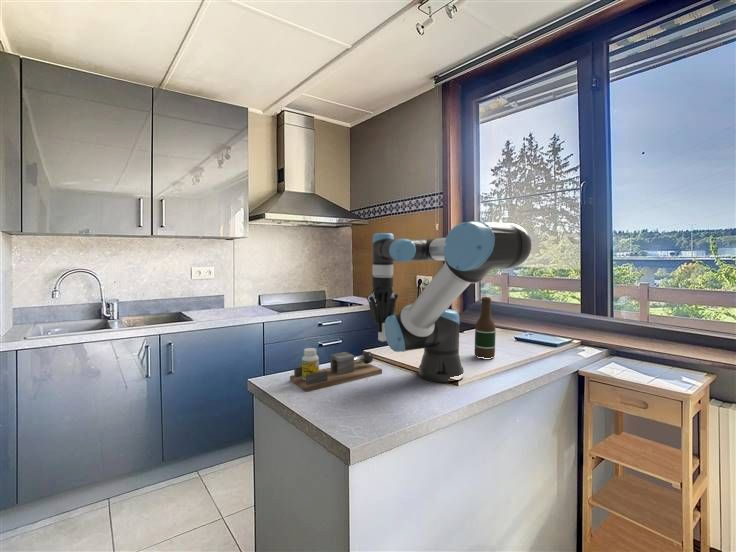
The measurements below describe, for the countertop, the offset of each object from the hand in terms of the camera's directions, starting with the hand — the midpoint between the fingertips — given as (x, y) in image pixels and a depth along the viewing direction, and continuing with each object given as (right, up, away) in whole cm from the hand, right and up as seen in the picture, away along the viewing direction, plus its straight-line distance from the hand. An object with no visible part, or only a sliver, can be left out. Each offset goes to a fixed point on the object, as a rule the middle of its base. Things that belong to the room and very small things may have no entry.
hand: (382, 340), depth 142 cm
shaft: (-10, -8, -7) cm, 14 cm away
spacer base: (-16, -11, -11) cm, 22 cm away
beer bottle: (+41, -9, +13) cm, 44 cm away
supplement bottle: (-24, -10, -17) cm, 31 cm away
